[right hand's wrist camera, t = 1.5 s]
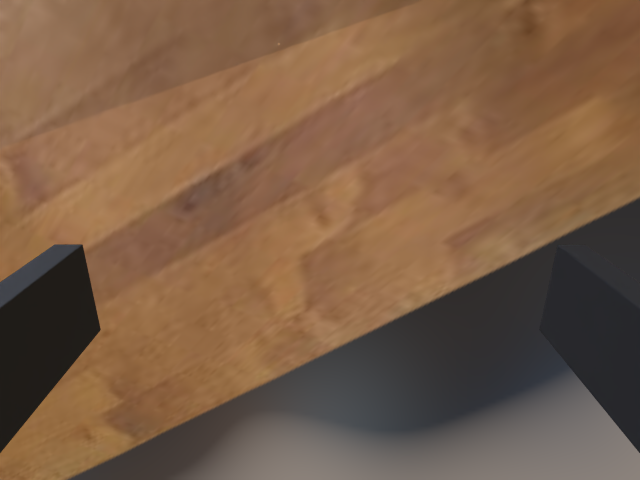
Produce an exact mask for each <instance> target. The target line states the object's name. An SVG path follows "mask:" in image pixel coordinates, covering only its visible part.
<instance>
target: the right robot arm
mask: <svg viewBox="0 0 640 480" xmlns="http://www.w3.org/2000/svg"><path fill="white" fill-rule="evenodd" d="M99 331H100V325H99V320H98V315H97V311H96V306H95V301H94V297H93V292H92V287H91V283H90V278H89V273H88V268H87V264H86V259H85V254H84V250H83V245H53V246H52V247H51V248H49V249H48V250H46V251H45V252H43V253H42V254H40V255H39V256H38V257H36V258H35V259H33V260H32V261H30V262H29V263H28V264H26V265H25V266H23V267H22V268H20V269H19V270H17V271H16V272H15V273H13V274H12V275H10V276H9V277H7V278H6V279H4V280H3V281H2V282H0V453H1V451H2V450H3V449H4V448H5V446H6V445H7V444H8V443H9V442H10V440H11V439H12V438H13V437H14V435H15V434H16V433H17V432H18V431H19V429H20V428H21V427H22V426H23V424H24V423H25V422H26V421H27V420H28V418H29V417H30V416H31V415H32V413H33V412H34V411H35V410H36V408H37V407H38V406H39V405H40V404H41V402H42V401H43V400H44V399H45V397H46V396H47V395H48V394H49V393H50V391H51V390H52V389H53V388H54V386H55V385H56V384H57V383H58V381H59V380H60V379H61V378H62V377H63V375H64V374H65V373H66V372H67V370H68V369H69V368H70V367H71V366H72V364H73V363H74V362H75V361H76V359H77V358H78V357H79V356H80V354H81V353H82V352H83V351H84V350H85V348H86V347H87V346H88V345H89V343H90V342H91V341H92V340H93V339H94V337H95V336H96V335H97V334H98V332H99ZM540 331H541V332H542V334H543V335H544V336H545V337H546V339H547V340H548V341H549V342H550V343H551V345H552V346H553V347H554V348H555V350H556V351H557V352H558V353H559V354H560V356H561V357H562V358H563V359H564V361H565V362H566V363H567V364H568V365H569V367H570V368H571V369H572V370H573V372H574V373H575V374H576V375H577V377H578V378H579V379H580V380H581V381H582V383H583V384H584V385H585V386H586V388H587V389H588V390H589V391H590V392H591V394H592V395H593V396H594V397H595V399H596V400H597V401H598V402H599V404H600V405H601V406H602V407H603V408H604V410H605V411H606V412H607V413H608V415H609V416H610V417H611V418H612V420H613V421H614V422H615V423H616V424H617V426H618V427H619V428H620V429H621V431H622V432H623V433H624V434H625V435H626V437H627V438H628V439H629V440H630V442H631V443H632V444H633V445H634V447H635V448H636V449H637V450H638V451H639V453H640V282H638V281H637V280H636V279H634V278H633V277H631V276H630V275H628V274H627V273H625V272H624V271H623V270H621V269H620V268H618V267H617V266H615V265H614V264H612V263H611V262H610V261H608V260H607V259H605V258H604V257H602V256H601V255H600V254H598V253H597V252H595V251H594V250H592V249H591V248H589V247H588V246H586V245H557V250H556V254H555V259H554V264H553V268H552V273H551V278H550V283H549V287H548V292H547V297H546V301H545V306H544V311H543V316H542V320H541V325H540Z"/></svg>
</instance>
